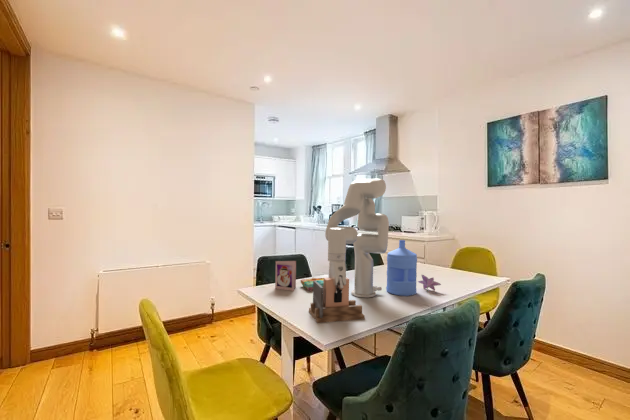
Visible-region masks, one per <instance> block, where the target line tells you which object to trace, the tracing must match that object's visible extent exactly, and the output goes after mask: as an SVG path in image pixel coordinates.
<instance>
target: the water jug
mask: <svg viewBox="0 0 630 420" xmlns="http://www.w3.org/2000/svg"><path fill="white" fill-rule="evenodd" d="M398 244H399V245H398V247H397V248H396V249H393V250H390V251H389V252H387V255H386V287H385V289H386V292H387V293H389V294H392V295H396V296H399V297H400V296H401V297H402V296H403V297H408V296H409V297H410V296H414V295H416V294H417V276H418V275H417V267H418V266H417V263H418V255H417V253H415V252H413V251H411V250H410V249H407V248H406V240H405V239H399V240H398Z"/></svg>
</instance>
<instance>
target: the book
mask: <svg viewBox="0 0 630 420" xmlns="http://www.w3.org/2000/svg"><path fill="white" fill-rule="evenodd" d="M323 278H324V281H323V307H337V306H349V300H350V278H349V277H348V276H346V285H344V284H343V289H342V302H337V303H335V302H334V293H335V285H334V284H333V279H331V278H329V277H323ZM342 282H343V281H342ZM337 285H339V284H337ZM337 288H338V287H337Z"/></svg>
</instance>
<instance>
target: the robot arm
mask: <svg viewBox="0 0 630 420" xmlns="http://www.w3.org/2000/svg"><path fill="white" fill-rule="evenodd" d="M386 190H387V184H386V182H385V180H384V179H383V178H360V179H356V180H355V179H354V181H352V182H351V183H350V185H349V186H348V189H347V193H346V195H345V198H344V203H343V204H342V206H341V207H339V208H338V209H337V210H336V211H334V213H333V214H332V215H331V216H330V218H329V219H328V222H327V225H326V228H325V234H324V236H325V239H326V241H328V242H327V244H328V245H327V246H328V247H327V261H328V262H329V263H328V278H331V279H333V284H334V285H335V293H334V302H335V303H337V302H342V289H343V284H344V285H346V277H347V267H346V266H347V265H346V260H347V245H352V244H353V249H354V289H352V290H351V291H350V292H351V293H350V294H351V296H354V297H357V298H363V299H365V298H367V299H368V298H373V297H375V296H376V295H377V293H376V292H377V291H382V286H376V285H374V259H373V257H372V256H371V254H380V255H382V254H385V253H386V252H387V250H388V245H389V244H388V243H389V227H390V226H389V223H390V222H389V218H388V216H387V215H386V214H384V213H376V203H375V201H374V200H373V199H378V198H379V197H382V196H383V195H384V194H385V192H386ZM355 216H357V228H358V229H359V230H360V231H362V232H371V233H358V230H357V229H356V228H355V227H354V226H344V225H343V226H341V225H339V224H340V223H341V222H343V221H345V220H348V219H350V218H353V217H355ZM373 233H377V234H373ZM370 253H371V254H370ZM342 281H343V282H342ZM337 284H339V285H337ZM337 287H338V288H337Z"/></svg>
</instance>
